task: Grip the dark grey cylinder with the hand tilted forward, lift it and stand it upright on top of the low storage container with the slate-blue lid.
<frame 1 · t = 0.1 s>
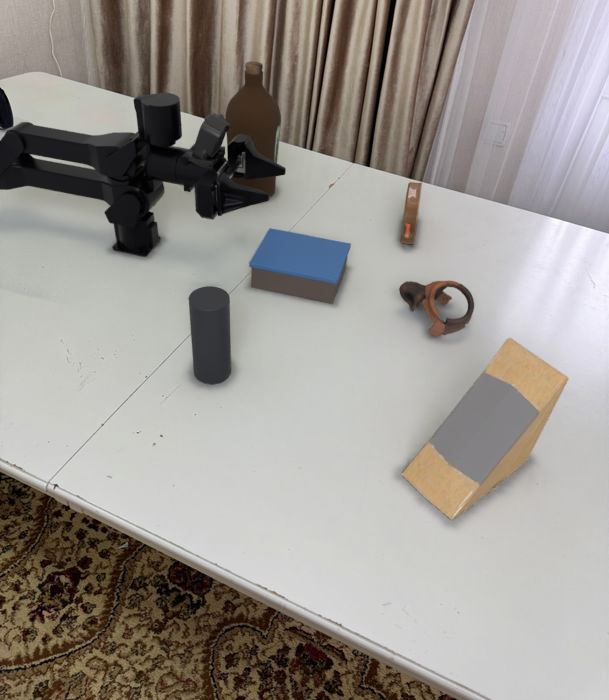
hand: (277, 183, 96), 17 cm above the table, tool horizontal, fingers open, 9 cm apart
tin: (407, 232, 121), on the table
olive oil: (252, 191, 129), on the table
container: (299, 277, 106), on the table
sandwich container: (465, 467, 78), on the table
brown ring with knob: (430, 319, 101), on the table
dark grey cylinder: (212, 371, 88), on the table
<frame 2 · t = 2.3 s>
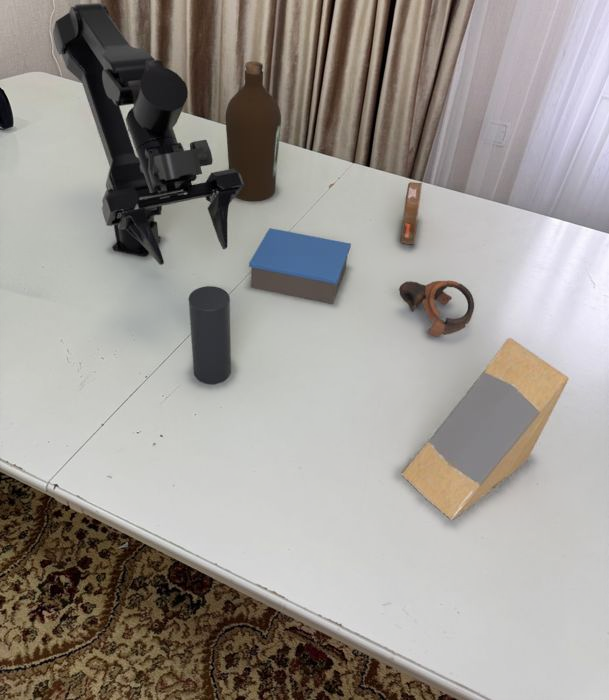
hand: (194, 256, 84), 14 cm above the table, tool tilted 45°, fingers open, 9 cm apart
nothing on the table moved.
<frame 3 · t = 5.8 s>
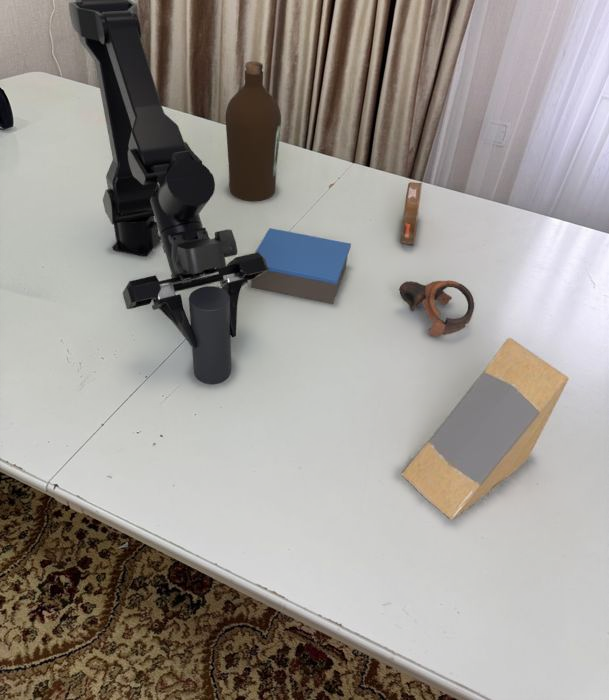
hand: (214, 342, 83), 7 cm above the table, tool tilted 45°, fingers closed on dark grey cylinder, 5 cm apart
dark grey cylinder: (212, 371, 88), on the table, touching gripper
everything else where it was.
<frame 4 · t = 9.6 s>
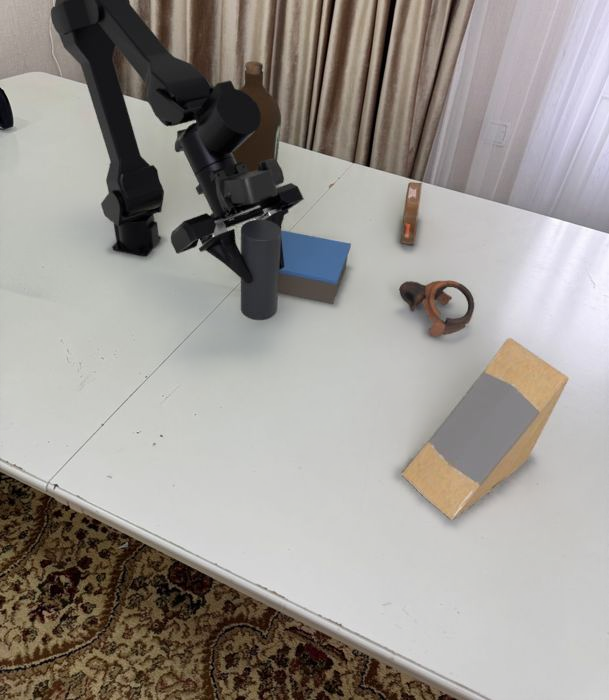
hand: (266, 275, 84), 13 cm above the table, tool tilted 45°, fingers closed on dark grey cylinder, 5 cm apart
dark grey cylinder: (258, 309, 89), point 6 cm above the table, touching gripper
everything else where it was.
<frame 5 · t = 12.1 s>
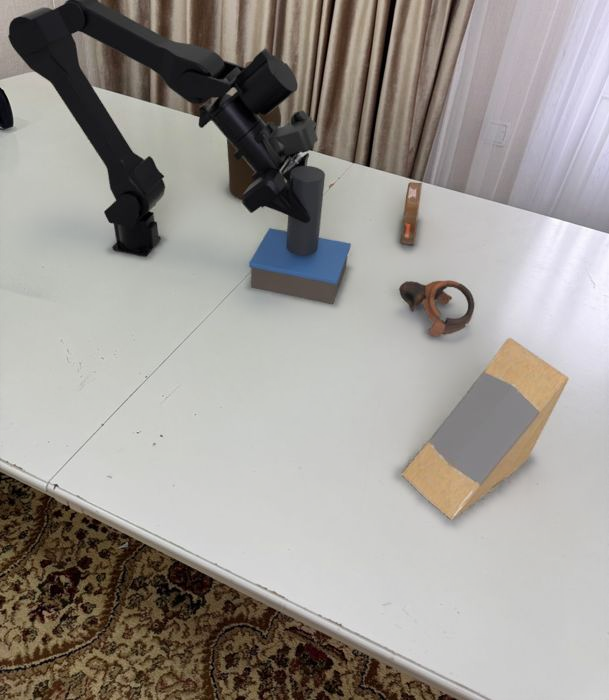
hand: (313, 213, 97), 13 cm above the table, tool tilted 45°, fingers closed on dark grey cylinder, 5 cm apart
dark grey cylinder: (301, 247, 102), point 6 cm above the table, touching gripper
everything else where it was.
when the fingers open (12 cm above the table, at t = 13.6 s): dark grey cylinder stays where it is, resting on container.
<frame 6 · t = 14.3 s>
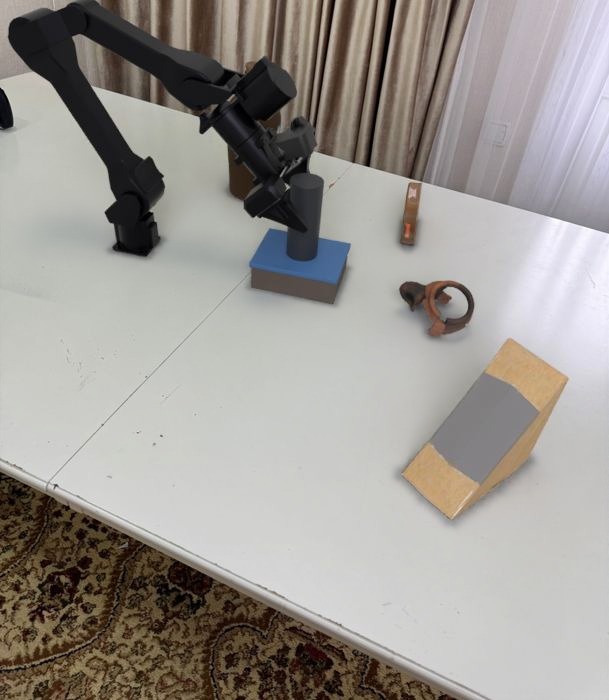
hand: (313, 217, 98), 12 cm above the table, tool tilted 45°, fingers open, 9 cm apart
dark grey cylinder: (301, 252, 103), point 5 cm above the table, touching container
everything else where it was.
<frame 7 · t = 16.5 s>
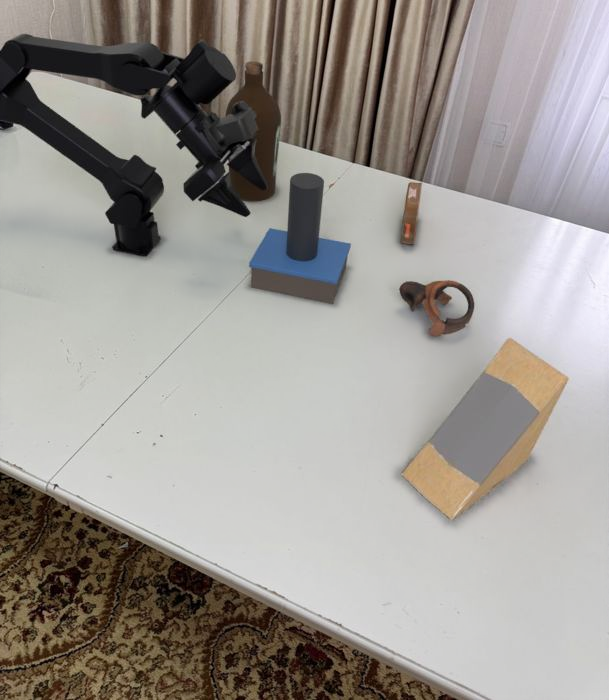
hand: (257, 201, 100), 13 cm above the table, tool tilted 45°, fingers open, 9 cm apart
nothing on the table moved.
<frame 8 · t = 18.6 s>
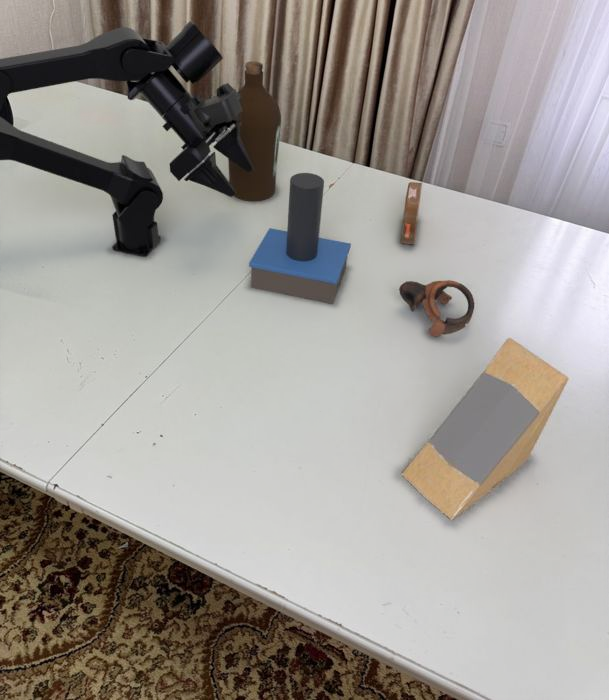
hand: (242, 182, 102), 14 cm above the table, tool tilted 45°, fingers open, 9 cm apart
nothing on the table moved.
at the end: dark grey cylinder inside the target area on the container (0.0 cm from its centre), point 5.0 cm above the container's base; dark grey cylinder tilted 0°; the gripper is holding nothing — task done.
